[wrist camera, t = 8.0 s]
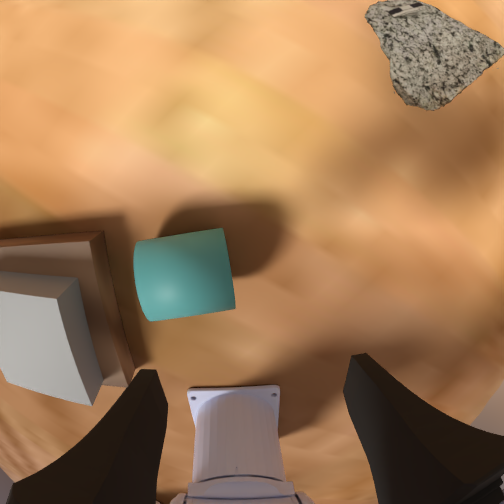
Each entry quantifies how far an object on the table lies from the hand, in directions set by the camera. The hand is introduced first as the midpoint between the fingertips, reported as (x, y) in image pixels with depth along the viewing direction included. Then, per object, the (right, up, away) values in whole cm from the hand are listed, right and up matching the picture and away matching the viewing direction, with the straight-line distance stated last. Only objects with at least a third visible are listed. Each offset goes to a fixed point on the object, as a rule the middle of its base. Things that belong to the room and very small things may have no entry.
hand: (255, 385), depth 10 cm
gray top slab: (-16, -1, +8) cm, 18 cm away
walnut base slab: (-16, +1, +10) cm, 19 cm away
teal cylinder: (-1, +4, +7) cm, 8 cm away
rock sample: (+10, +23, +4) cm, 25 cm away
